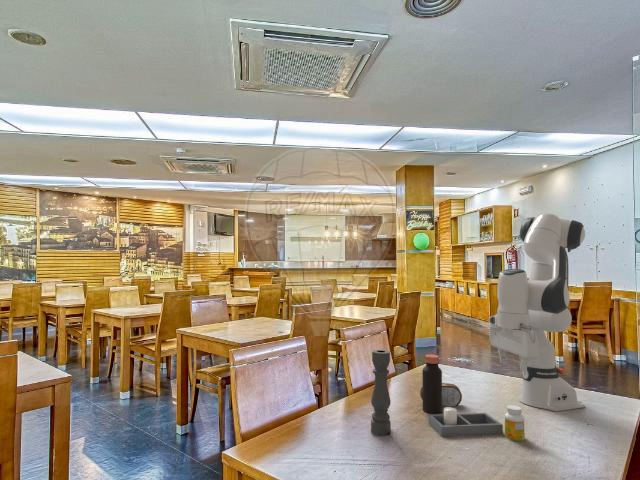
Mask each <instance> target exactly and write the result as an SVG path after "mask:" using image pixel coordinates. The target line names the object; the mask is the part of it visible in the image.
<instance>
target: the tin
mask: <svg viewBox="0 0 640 480" xmlns="http://www.w3.org/2000/svg"><path fill="white" fill-rule="evenodd" d="M419 395H420V399H421V400H422V401H423V385H422V386H421V388H420V390H419ZM462 399H463V395H462V392H461V390H460V388H459V386H457V385H456V384H454V383H448V382H444V383H443V382H442V407H452V406H453V407H454V406H455V407H457V406H459V405H460V404H461V402H462Z"/></svg>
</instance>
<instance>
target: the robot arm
mask: <svg viewBox="0 0 640 480" xmlns="http://www.w3.org/2000/svg"><path fill="white" fill-rule="evenodd" d="M584 226H585V225H584V224H583V223H582V222H580V221H577V220H574V219H571V220H570V219H564V218H560V217H558V216H557V215H555V214H554V213H553V214H552V213H542V214H540V215H538V216H536V217H534V216H533V217H532V216H531V217H526V218H524V219H523V220H522V222H521V223H520V226H519V228H518V231H519V232H518V234H519V237H520V240H521V241H523V250H524V252H525V254H526V255H527V257H528V258H530V259H531V260H532V264H531V269H530V274H529V279H528V277H527V276H528V275H527V272H526V270H524V269H520V268H509V269H503V270H502V271H500V272H499V275H498V278H497V279H498V280H497V288H496V289H497V290H496V291H497V292H496V294H497V295H496V296H497V302H498V306H497V309H496V310H497V311H496V314H494V315H492V316H491V315H490V316H489V317H488V323H489V324H490V325H489V331H488V332H489V343H490V345H491V346H492V347H494V348H497V354H498V356H499V362H500V363H501V364H504V365H507V364H509V362H508V361H509V358H508V357H507V354H506V352H508V353H511V354H514V355H516V356H519V360H520V363H519V364H518V365H517V367H518V368H517V369H518V371H519V372H521V375H522V380H521V381H522V382H521V389H520V395H519V396H518V400H519V402H521V403H522V404H525V405H527V406H530V407H535V408H540V409H545V410H549V411H554V412H561V411H568V410H574V409H582V408H581V407H583V408H585V403H584V402H582V400H579V399H578V396H577V392H576V390H575V388H574V386H572V385H571V384H569V383H568V382H567V381H566V380H564V379H563V378H562V377H560V374H561V375H565V374H566V369H565V368H562V367H559V368H558V367H557V366H556V348H555V345H554V344H553V342H551V341H550V339H549V338H548V337H547V335H546V333H545V332H548V333H562V332H566V331H567V330H568V329H569V328H570V327H571V325H572V319H573V317H572V314H571V312H570V309H568V308H569V307H570V301H571V297H570V292H569V256H568V253H570V252H571V251H572V250H575V249H577V248H578V247H580V246H581V245H582V243H583V241H584V240H585V238H586V231H585V228H584ZM566 249H567V250H566Z"/></svg>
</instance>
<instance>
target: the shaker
mask: <svg viewBox="0 0 640 480" xmlns="http://www.w3.org/2000/svg"><path fill="white" fill-rule="evenodd" d="M443 414H444V426H447V425H457V414H458V409H457V408H454V407H452V406H445V407H444V408H443Z"/></svg>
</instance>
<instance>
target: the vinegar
mask: <svg viewBox="0 0 640 480" xmlns="http://www.w3.org/2000/svg"><path fill="white" fill-rule="evenodd" d="M424 362H425V366H424V367H423V368H422V370H421V371H422V375H421V376H422V377H421V378H422V386H423V400H422V412H424V413H427V414H429V415H437V414H443V406H442V383H443V371H442V369H441V367H440V366H439V364H440V356H439V355H438V354H437V355H436V354H425V355H424Z"/></svg>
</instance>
